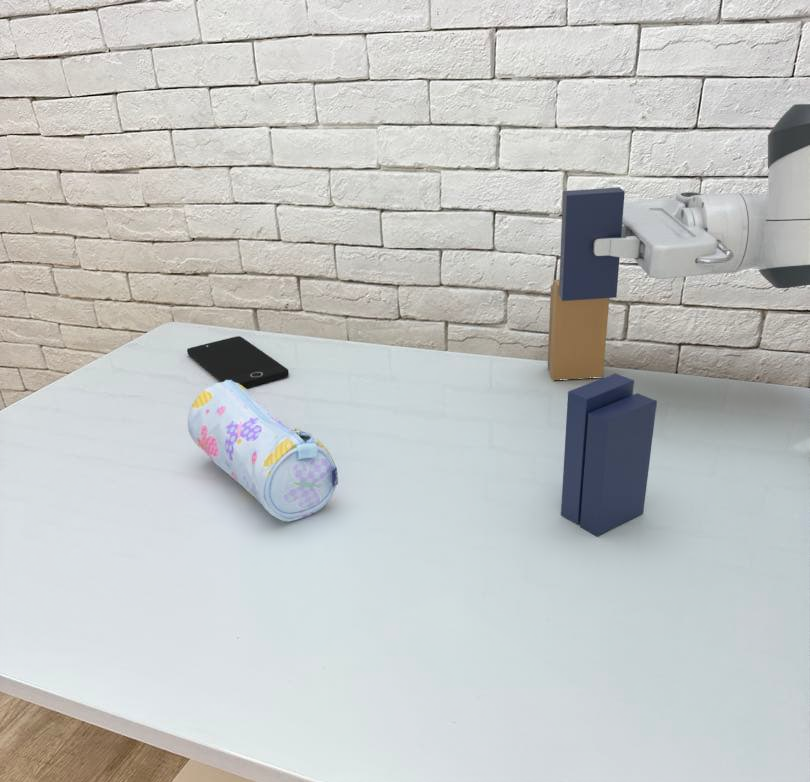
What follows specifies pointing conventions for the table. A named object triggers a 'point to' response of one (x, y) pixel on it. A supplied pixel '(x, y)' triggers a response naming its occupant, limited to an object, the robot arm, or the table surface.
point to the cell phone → (237, 362)
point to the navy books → (606, 454)
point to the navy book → (589, 243)
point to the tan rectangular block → (576, 336)
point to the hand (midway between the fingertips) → (589, 242)
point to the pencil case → (262, 451)
